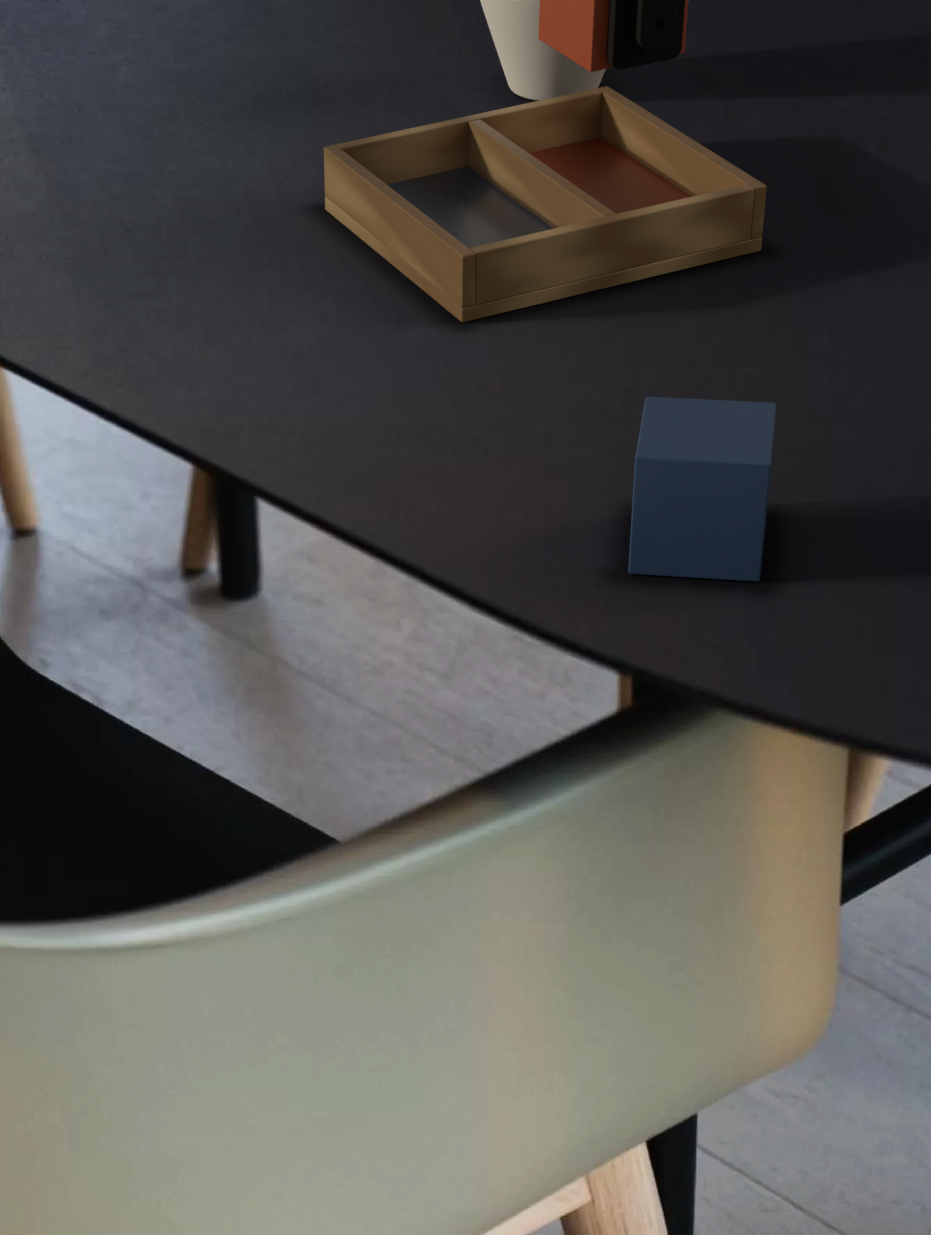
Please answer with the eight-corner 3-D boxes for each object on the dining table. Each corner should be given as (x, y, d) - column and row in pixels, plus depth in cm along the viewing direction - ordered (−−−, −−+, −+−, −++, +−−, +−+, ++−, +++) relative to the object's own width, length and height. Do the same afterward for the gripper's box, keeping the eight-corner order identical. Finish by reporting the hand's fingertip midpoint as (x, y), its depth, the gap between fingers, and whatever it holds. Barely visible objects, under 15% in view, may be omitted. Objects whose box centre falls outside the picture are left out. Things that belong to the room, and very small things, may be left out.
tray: (604, 147, 113) (607, 85, 111) (761, 251, 104) (767, 185, 102) (324, 209, 109) (322, 146, 108) (461, 323, 100) (462, 256, 98)
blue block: (627, 574, 85) (634, 457, 82) (638, 510, 88) (645, 395, 85) (759, 582, 84) (771, 464, 81) (765, 518, 87) (776, 402, 84)
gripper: (858, -439, 86) (803, 91, 98) (611, -513, 98) (589, -32, 110) (669, -411, 84) (636, 127, 96) (441, -490, 96) (436, -3, 108)
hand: (611, 37), depth 103 cm, fingers closed on terracotta block, 4 cm apart
